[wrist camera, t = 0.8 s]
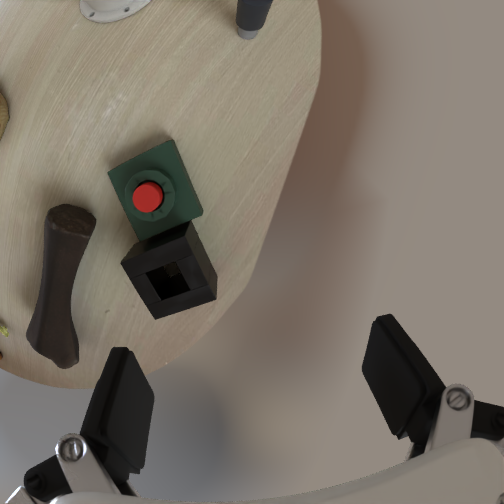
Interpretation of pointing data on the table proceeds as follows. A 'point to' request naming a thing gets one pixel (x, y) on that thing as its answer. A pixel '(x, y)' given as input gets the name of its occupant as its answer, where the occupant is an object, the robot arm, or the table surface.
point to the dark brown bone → (60, 284)
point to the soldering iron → (251, 16)
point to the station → (168, 179)
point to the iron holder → (177, 287)
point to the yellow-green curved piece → (4, 331)
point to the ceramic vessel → (3, 115)
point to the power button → (147, 197)
